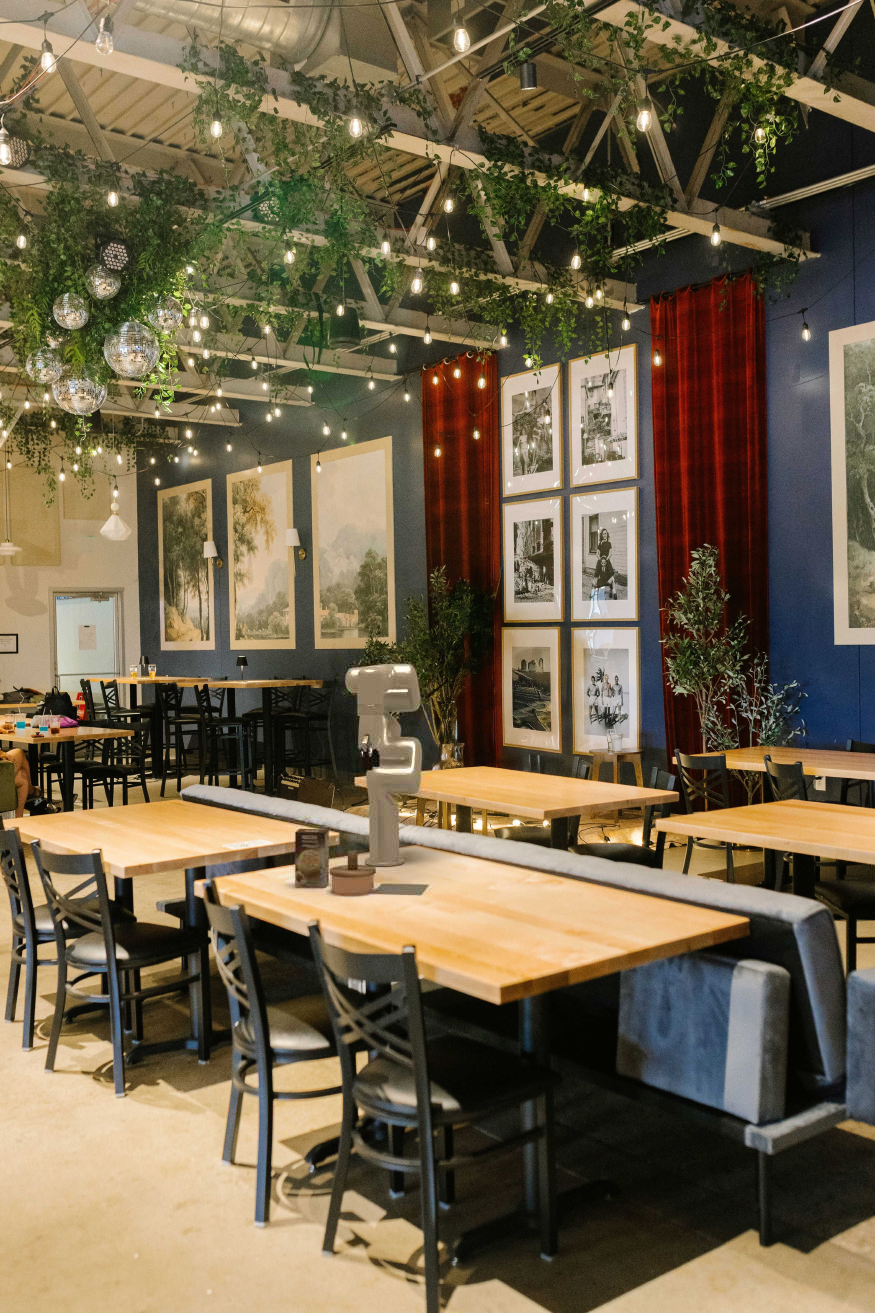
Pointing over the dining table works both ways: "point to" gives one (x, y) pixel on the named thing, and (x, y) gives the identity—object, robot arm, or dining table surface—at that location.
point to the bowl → (352, 885)
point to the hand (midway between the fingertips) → (370, 768)
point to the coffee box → (312, 858)
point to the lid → (352, 868)
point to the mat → (401, 889)
